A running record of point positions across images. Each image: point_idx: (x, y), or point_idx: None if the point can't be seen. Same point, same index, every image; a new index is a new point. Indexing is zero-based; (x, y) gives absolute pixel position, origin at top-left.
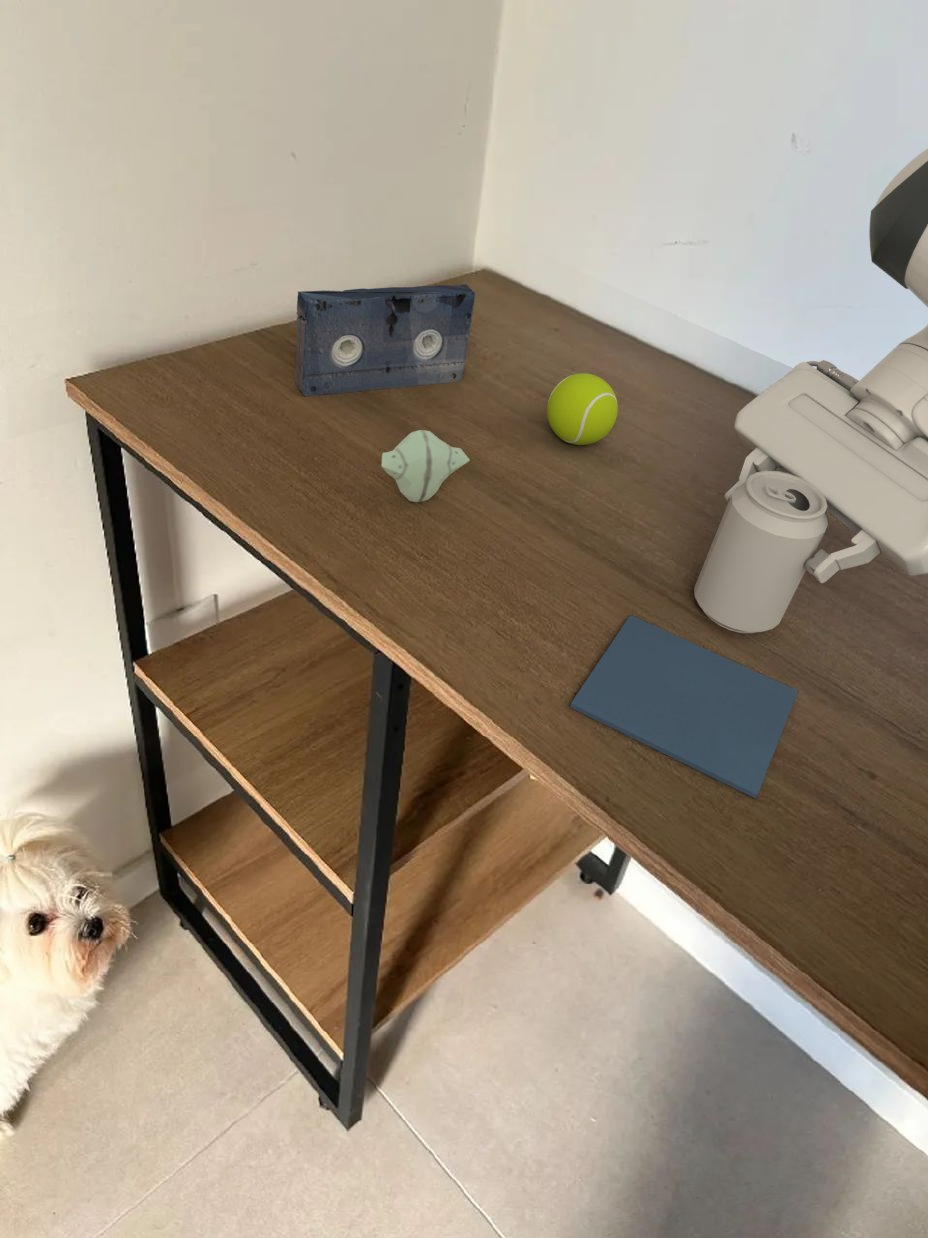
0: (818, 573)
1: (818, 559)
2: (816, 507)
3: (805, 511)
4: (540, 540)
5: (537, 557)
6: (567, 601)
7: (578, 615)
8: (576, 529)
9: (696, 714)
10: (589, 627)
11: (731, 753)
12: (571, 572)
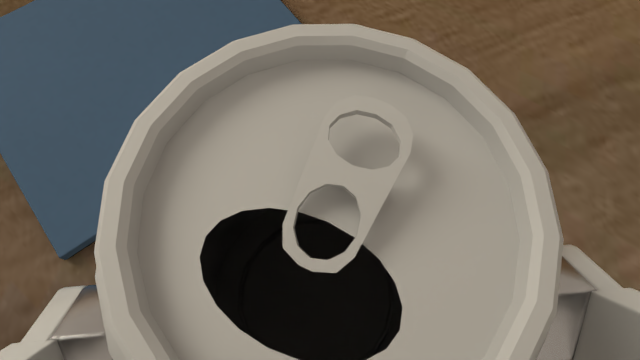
0: (66, 287)
1: (90, 305)
2: (205, 355)
3: (194, 252)
4: (573, 41)
5: (526, 18)
6: (409, 12)
7: (374, 13)
8: (607, 115)
9: (106, 50)
10: (343, 15)
11: (17, 54)
12: (480, 50)
